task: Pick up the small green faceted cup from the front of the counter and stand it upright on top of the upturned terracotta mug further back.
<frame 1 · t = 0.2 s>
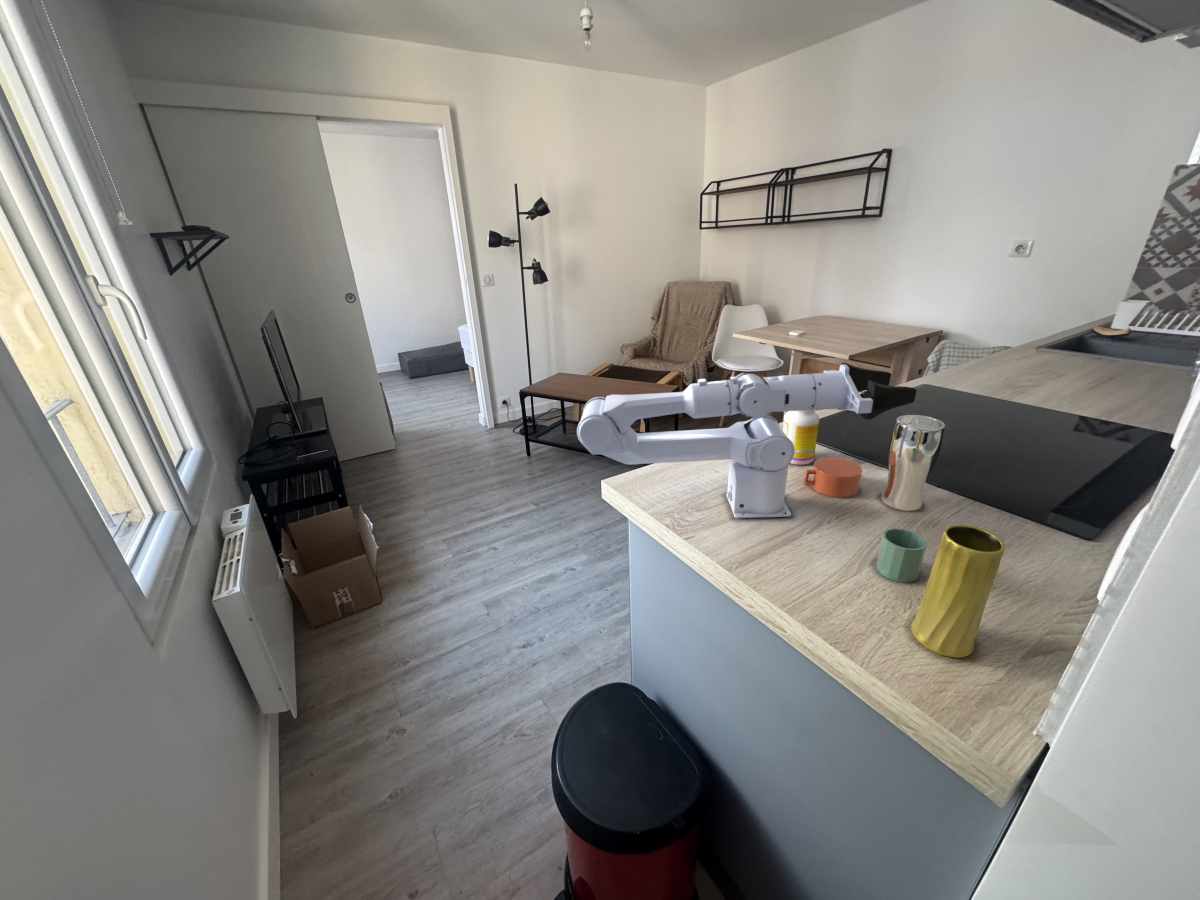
hand: (901, 386, 72), 21 cm above the table, tool horizontal, fingers open, 7 cm apart
vase: (940, 638, 55), on the table
mug: (834, 486, 88), on the table
supplement bottle: (796, 459, 99), on the table
green faceted cup: (896, 570, 66), on the table
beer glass: (900, 502, 82), on the table
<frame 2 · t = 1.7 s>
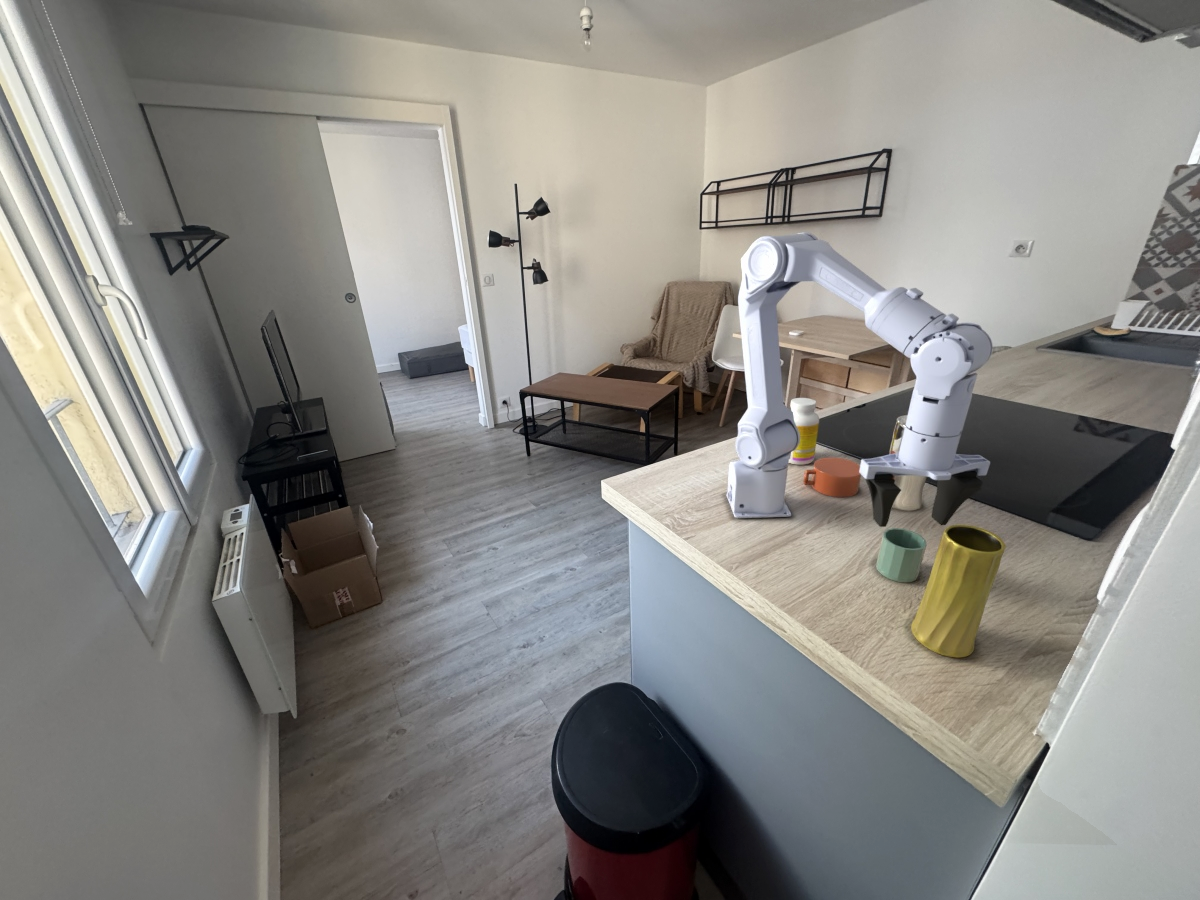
hand: (908, 521, 63), 8 cm above the table, tool pointing down, fingers open, 7 cm apart
nothing on the table moved.
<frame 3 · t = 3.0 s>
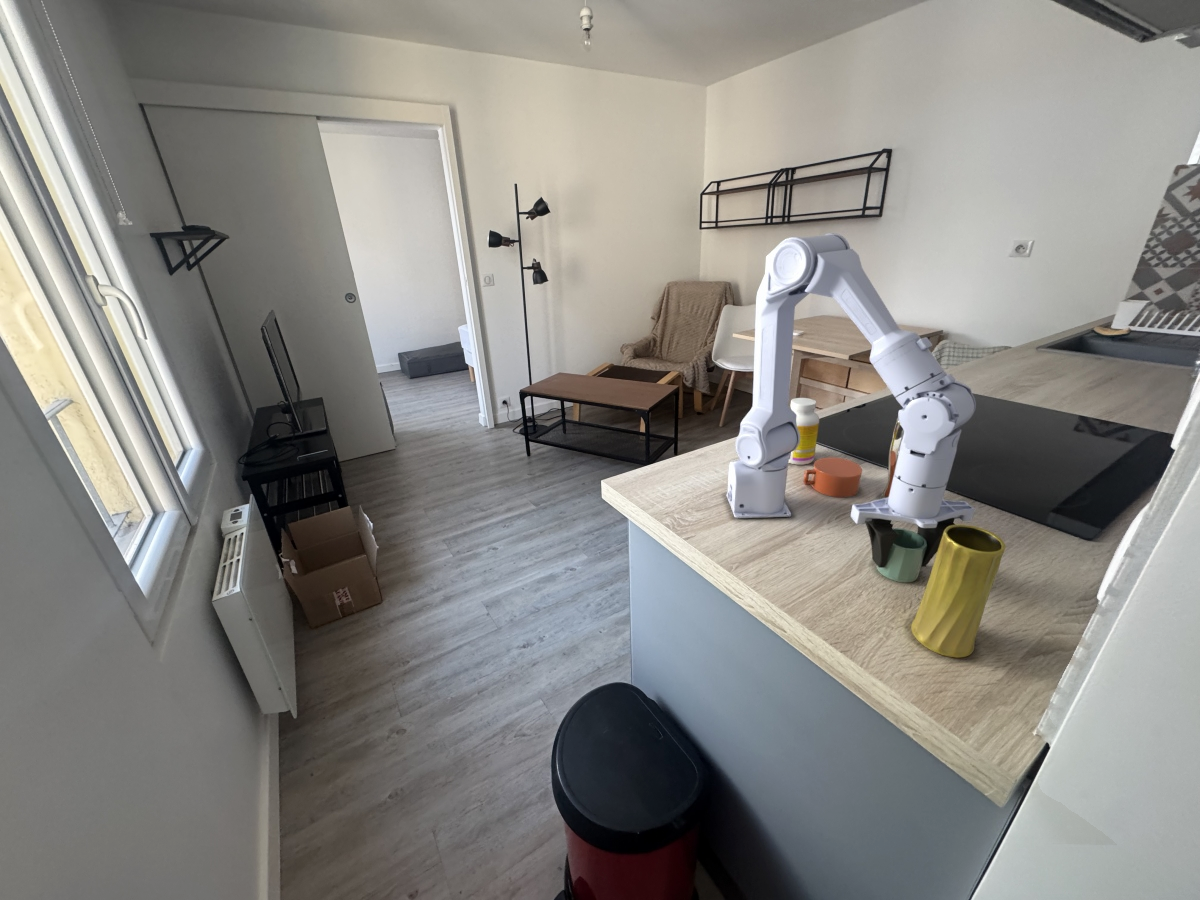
hand: (898, 562, 65), 1 cm above the table, tool pointing down, fingers closed on green faceted cup, 5 cm apart
green faceted cup: (896, 570, 66), on the table, touching gripper
everything else where it was.
when the fingers open (6 cm above the table, at t = 8.0 s): green faceted cup stays where it is, resting on mug.
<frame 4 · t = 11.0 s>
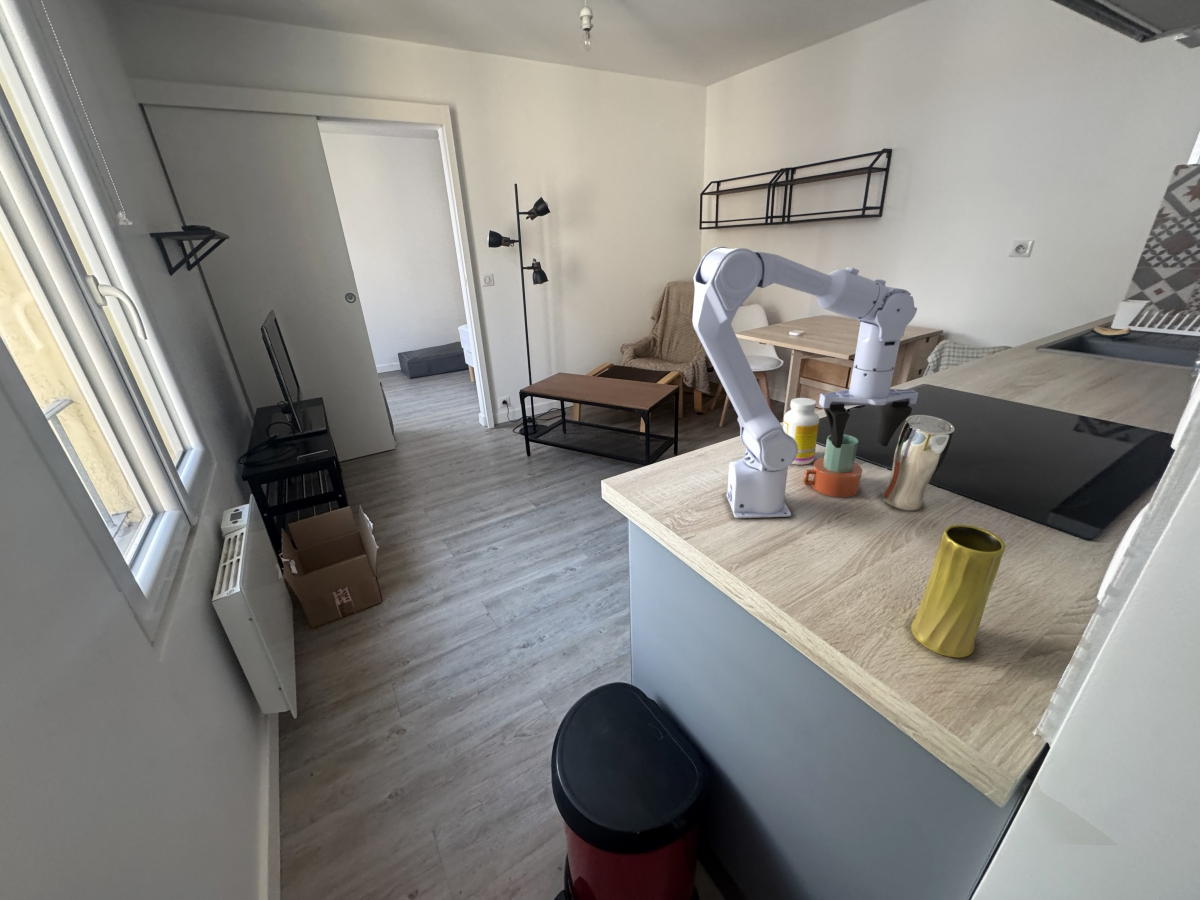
hand: (858, 444, 80), 10 cm above the table, tool pointing down, fingers open, 7 cm apart
mug: (834, 486, 88), on the table, touching green faceted cup
green faceted cup: (838, 466, 86), point 4 cm above the table, touching mug
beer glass: (901, 501, 82), on the table, touching gripper
everything else where it was.
at the end: green faceted cup 0.1 cm off-centre on the mug, point 4.2 cm above the mug's base; green faceted cup tilted 0°; green faceted cup touching mug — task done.
